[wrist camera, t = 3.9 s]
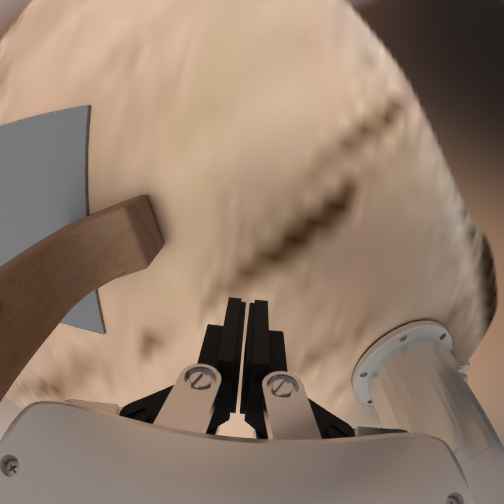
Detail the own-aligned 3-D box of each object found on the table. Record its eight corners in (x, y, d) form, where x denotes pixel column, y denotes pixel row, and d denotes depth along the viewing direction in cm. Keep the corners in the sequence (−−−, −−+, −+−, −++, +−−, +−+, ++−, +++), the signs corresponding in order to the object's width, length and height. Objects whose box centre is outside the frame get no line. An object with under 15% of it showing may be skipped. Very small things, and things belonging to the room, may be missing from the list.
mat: (90, 105, 18) (88, 105, 17) (105, 332, 26) (104, 334, 25) (-27, 136, 18) (-30, 137, 17) (-7, 296, 26) (-8, 298, 25)
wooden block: (147, 192, 20) (-46, 330, 4) (166, 245, 22) (45, 444, 5) (65, 225, 21) (-86, 338, 4) (83, 270, 23) (-39, 409, 6)
